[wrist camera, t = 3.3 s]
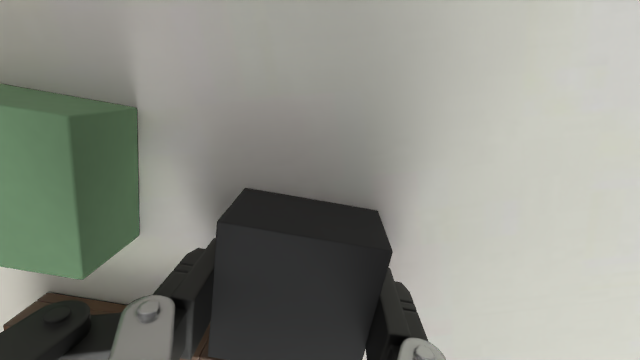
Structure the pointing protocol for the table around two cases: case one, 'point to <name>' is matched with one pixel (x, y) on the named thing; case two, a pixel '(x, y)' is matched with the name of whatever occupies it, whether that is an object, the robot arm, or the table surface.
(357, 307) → the charcoal pad
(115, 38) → the table surface
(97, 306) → the divided wooden tray
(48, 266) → the sage pad
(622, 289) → the table surface
